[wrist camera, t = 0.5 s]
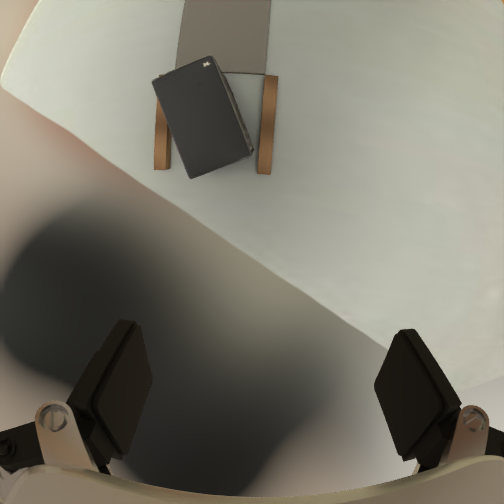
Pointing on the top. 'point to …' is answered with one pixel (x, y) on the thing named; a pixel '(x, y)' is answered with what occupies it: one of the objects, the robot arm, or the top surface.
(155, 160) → the brown open frame
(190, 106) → the small box
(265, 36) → the rubber mat
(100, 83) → the top surface
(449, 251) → the top surface
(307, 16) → the top surface
